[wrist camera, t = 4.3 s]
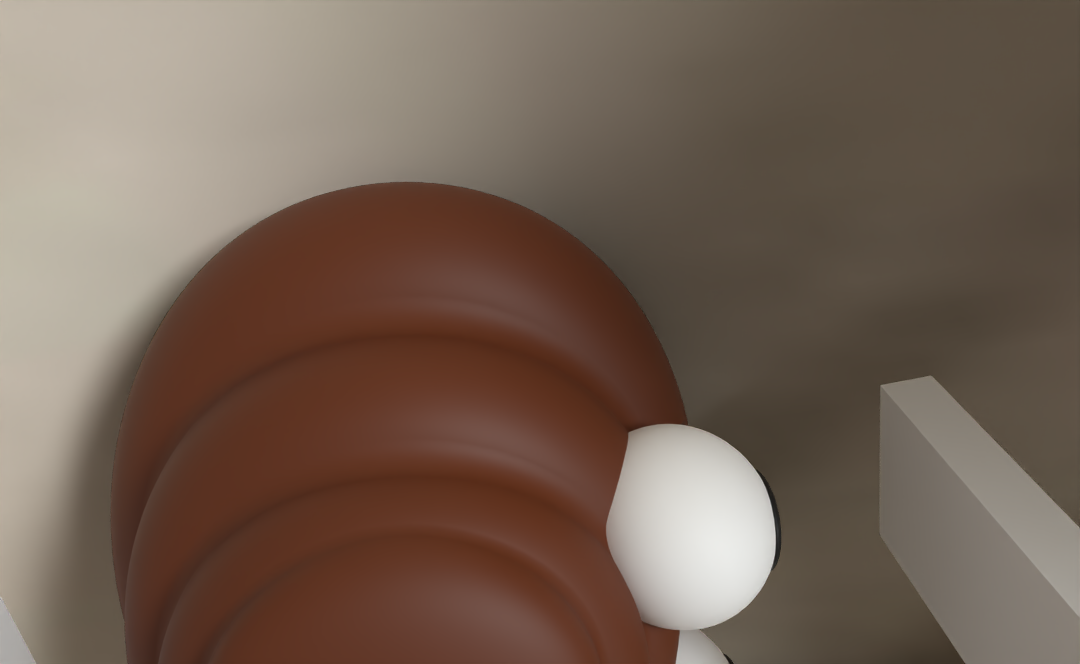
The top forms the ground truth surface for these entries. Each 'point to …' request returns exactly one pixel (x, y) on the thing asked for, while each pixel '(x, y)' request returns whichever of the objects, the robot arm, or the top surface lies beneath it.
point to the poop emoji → (422, 454)
